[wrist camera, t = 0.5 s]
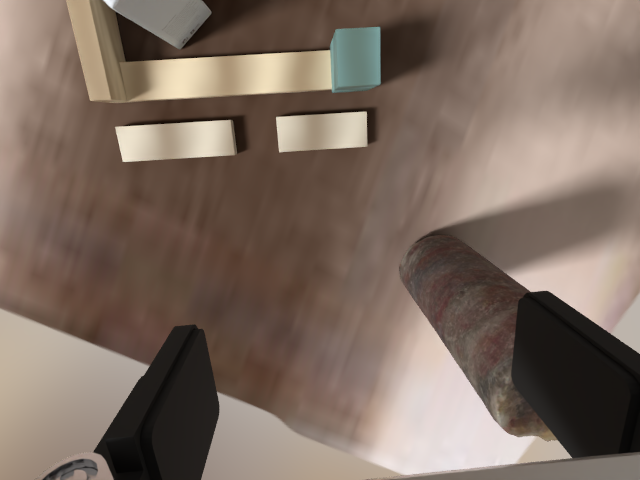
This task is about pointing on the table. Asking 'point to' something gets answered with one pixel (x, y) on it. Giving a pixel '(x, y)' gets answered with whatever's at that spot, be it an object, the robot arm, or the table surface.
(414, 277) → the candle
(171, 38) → the skincare box
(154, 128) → the broken strip
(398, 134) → the table surface
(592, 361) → the robot arm
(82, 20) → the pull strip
